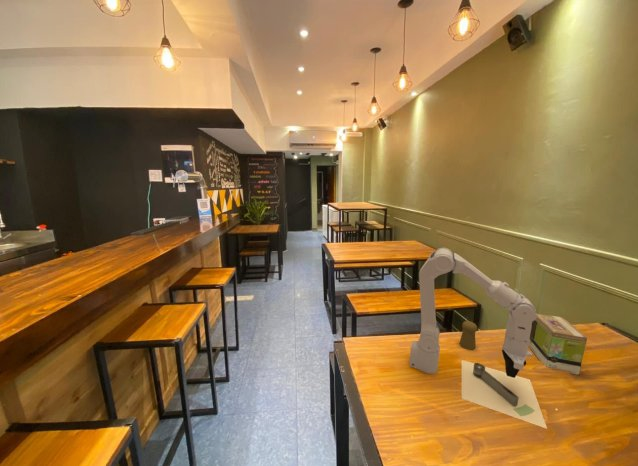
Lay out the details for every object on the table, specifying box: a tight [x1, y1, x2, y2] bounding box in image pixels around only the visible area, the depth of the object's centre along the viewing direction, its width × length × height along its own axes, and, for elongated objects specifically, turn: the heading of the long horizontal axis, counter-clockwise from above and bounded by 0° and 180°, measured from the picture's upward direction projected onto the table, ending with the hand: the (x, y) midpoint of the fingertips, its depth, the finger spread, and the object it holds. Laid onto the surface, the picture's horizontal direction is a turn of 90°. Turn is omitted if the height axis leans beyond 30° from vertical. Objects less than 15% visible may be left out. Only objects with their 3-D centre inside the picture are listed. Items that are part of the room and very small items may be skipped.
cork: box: [459, 320, 478, 351], centre depth 102 cm, size 6×6×11 cm
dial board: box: [461, 359, 548, 430], centre depth 81 cm, size 20×20×1 cm
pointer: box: [473, 362, 519, 406], centre depth 81 cm, size 15×3×3 cm, turn 14°
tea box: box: [528, 313, 588, 376], centre depth 95 cm, size 15×10×15 cm, turn 161°
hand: (510, 375), depth 79 cm, fingers closed
